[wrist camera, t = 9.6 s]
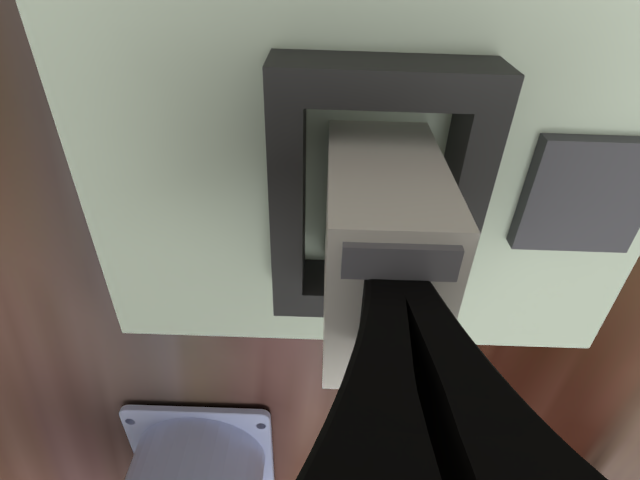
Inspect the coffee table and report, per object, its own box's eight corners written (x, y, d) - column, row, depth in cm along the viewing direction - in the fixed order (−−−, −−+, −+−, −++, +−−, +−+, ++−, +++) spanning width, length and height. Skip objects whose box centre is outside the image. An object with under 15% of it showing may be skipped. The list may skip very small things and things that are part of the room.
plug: (406, 253, 17) (438, 399, 12) (324, 251, 17) (321, 395, 12) (427, 122, 14) (483, 239, 9) (329, 119, 14) (327, 234, 9)
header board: (576, 327, 20) (613, 387, 18) (132, 313, 20) (103, 370, 18) (780, -81, 12) (909, -82, 9) (9, -106, 12) (-82, -114, 9)
